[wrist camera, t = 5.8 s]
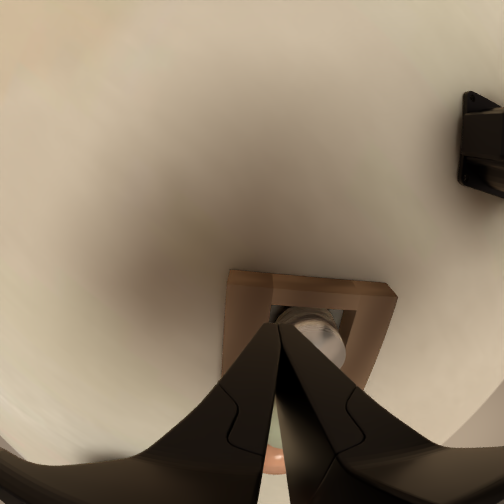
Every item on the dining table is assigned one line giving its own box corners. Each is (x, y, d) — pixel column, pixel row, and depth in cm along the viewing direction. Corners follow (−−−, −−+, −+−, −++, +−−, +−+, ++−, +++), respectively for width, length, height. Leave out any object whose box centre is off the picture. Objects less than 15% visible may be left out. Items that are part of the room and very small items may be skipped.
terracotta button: (304, 425, 22) (307, 453, 19) (295, 449, 23) (297, 474, 20) (256, 424, 22) (256, 452, 19) (252, 447, 23) (251, 473, 20)
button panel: (386, 282, 18) (398, 296, 16) (321, 451, 24) (323, 466, 22) (230, 269, 18) (226, 283, 16) (220, 448, 24) (218, 463, 22)
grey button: (341, 305, 18) (353, 332, 15) (327, 355, 19) (336, 385, 16) (277, 301, 18) (280, 328, 15) (269, 352, 19) (270, 383, 16)
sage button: (323, 385, 19) (330, 416, 16) (310, 419, 20) (315, 449, 17) (266, 383, 19) (266, 415, 16) (259, 418, 20) (259, 448, 17)
